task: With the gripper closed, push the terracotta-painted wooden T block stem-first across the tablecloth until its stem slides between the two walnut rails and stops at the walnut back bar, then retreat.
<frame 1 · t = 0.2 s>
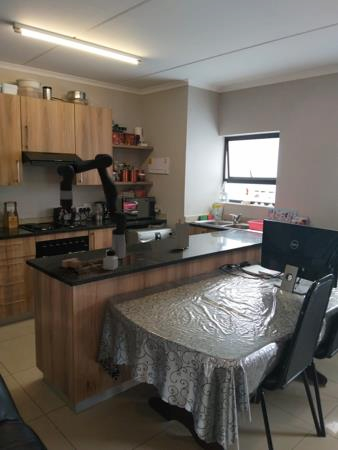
hand: (66, 224, 219), 29 cm above the worktop, fingers open, 8 cm apart
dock: (87, 270, 223), on the worktop
T block: (70, 265, 233), on the worktop
medicine bottle: (110, 268, 229), on the worktop
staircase: (181, 249, 294), on the worktop
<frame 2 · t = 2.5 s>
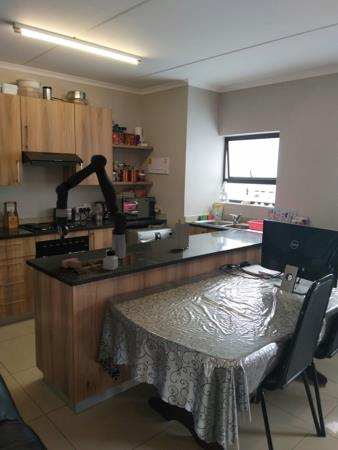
hand: (62, 241, 235), 15 cm above the worktop, fingers closed
nothing on the worktop moved.
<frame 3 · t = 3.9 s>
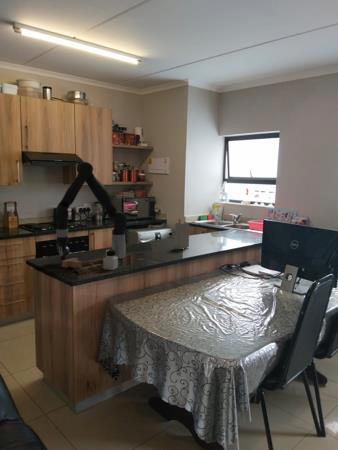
hand: (62, 261, 237), 2 cm above the worktop, fingers closed
nothing on the worktop moved.
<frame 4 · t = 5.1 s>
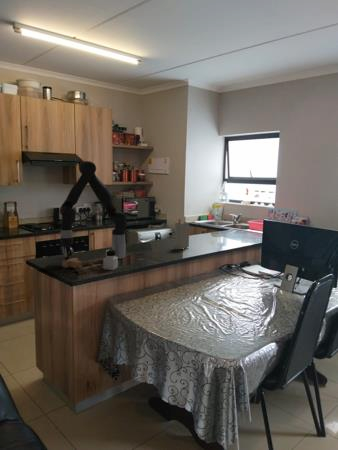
hand: (66, 262, 235), 2 cm above the worktop, fingers closed
T block: (70, 265, 233), on the worktop, touching gripper
everything else where it was.
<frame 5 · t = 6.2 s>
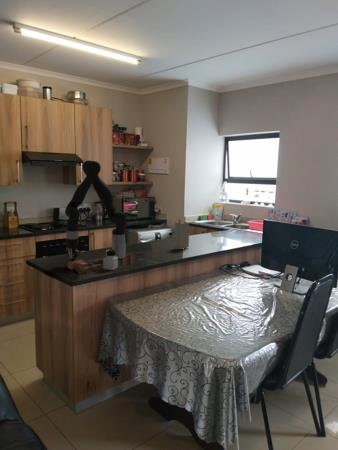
hand: (72, 263, 231), 2 cm above the worktop, fingers closed
T block: (76, 267, 229), on the worktop, touching gripper
everything else where it was.
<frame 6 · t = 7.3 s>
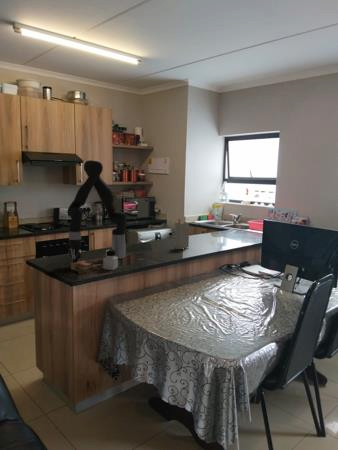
hand: (75, 264, 229), 2 cm above the worktop, fingers closed
T block: (79, 268, 227), on the worktop, touching gripper
everything else where it was.
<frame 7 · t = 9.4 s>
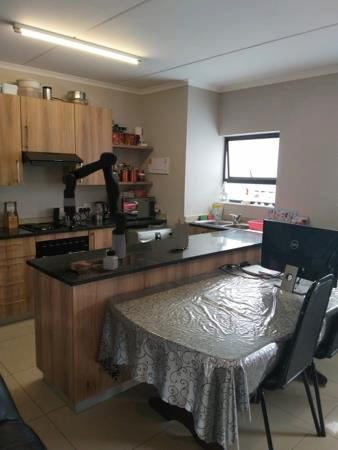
hand: (70, 231, 231), 22 cm above the worktop, fingers closed
T block: (79, 268, 227), on the worktop
everything else where it was.
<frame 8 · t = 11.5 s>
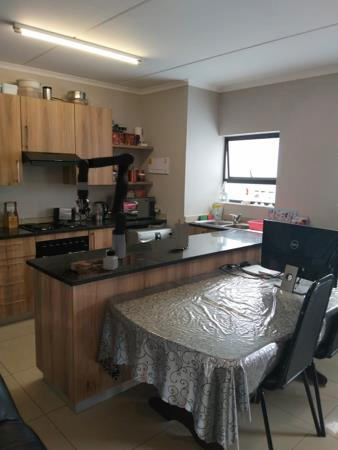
hand: (83, 214, 243), 32 cm above the worktop, fingers closed
nothing on the worktop moved.
at the end: T block 0.3 cm from the target spot on the worktop beside the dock, on the worktop; T block tilted 0° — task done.
